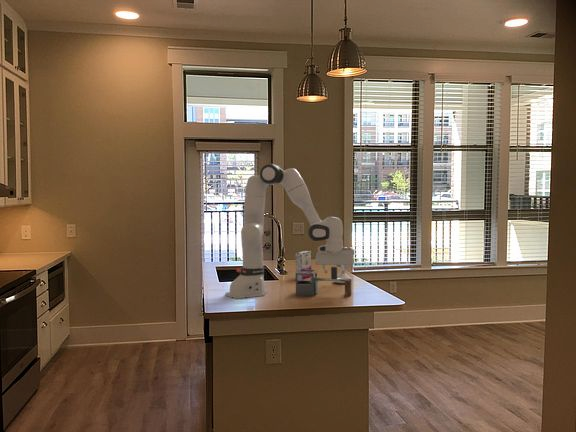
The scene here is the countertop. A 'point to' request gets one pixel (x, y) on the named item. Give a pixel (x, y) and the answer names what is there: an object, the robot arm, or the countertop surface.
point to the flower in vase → (342, 275)
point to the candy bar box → (303, 262)
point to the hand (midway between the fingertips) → (334, 273)
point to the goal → (305, 283)
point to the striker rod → (333, 278)
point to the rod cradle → (348, 287)
